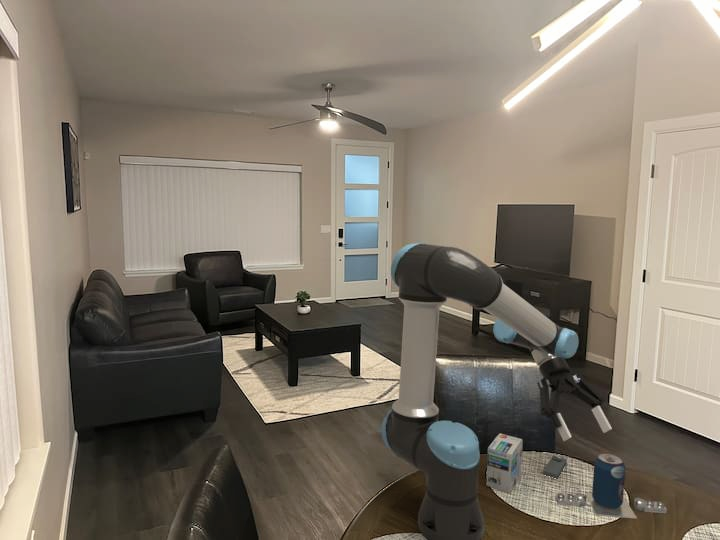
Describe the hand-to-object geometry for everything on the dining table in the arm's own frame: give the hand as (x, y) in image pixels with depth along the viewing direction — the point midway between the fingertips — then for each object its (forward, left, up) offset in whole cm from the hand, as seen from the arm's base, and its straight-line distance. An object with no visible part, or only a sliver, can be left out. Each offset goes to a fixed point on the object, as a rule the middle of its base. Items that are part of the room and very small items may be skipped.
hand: (588, 435), depth 132 cm
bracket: (-6, +8, -15) cm, 18 cm away
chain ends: (+4, -8, -15) cm, 17 cm away
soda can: (+3, -7, -15) cm, 16 cm away
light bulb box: (-21, 0, -15) cm, 25 cm away
